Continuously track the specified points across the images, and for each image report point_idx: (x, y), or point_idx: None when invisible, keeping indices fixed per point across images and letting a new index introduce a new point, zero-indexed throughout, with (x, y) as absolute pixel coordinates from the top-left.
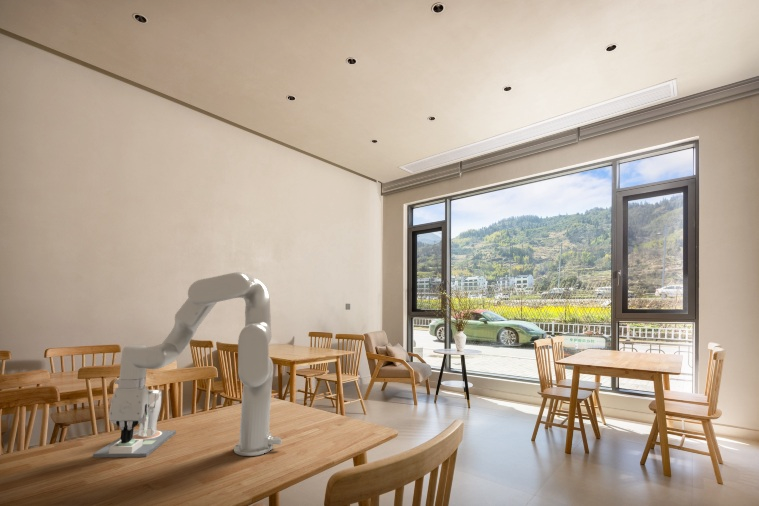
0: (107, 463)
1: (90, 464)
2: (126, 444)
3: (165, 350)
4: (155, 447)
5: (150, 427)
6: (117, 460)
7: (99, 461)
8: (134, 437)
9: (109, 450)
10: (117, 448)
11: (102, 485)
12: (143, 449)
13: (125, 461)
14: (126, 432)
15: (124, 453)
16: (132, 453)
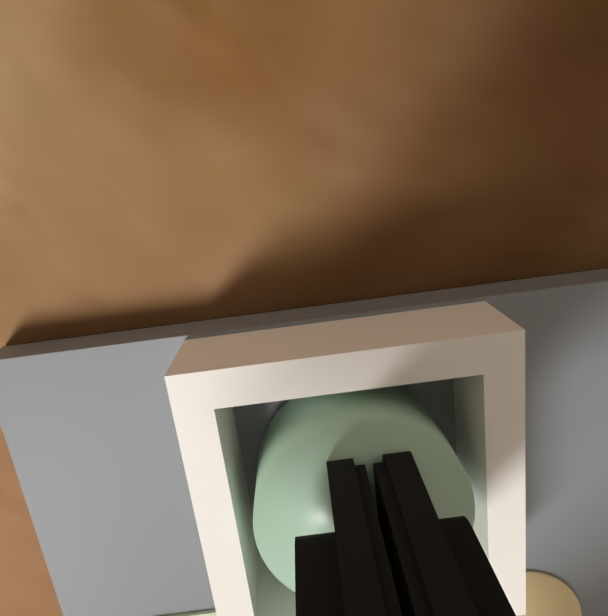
0: (349, 90)
1: (556, 33)
2: (302, 431)
3: None
4: (56, 567)
5: None
6: (286, 202)
7: (497, 146)
8: None
9: (496, 313)
10: (390, 338)
11: None
12: (126, 476)
13: (158, 180)
14: (360, 598)
15: (277, 328)
16: (170, 341)
